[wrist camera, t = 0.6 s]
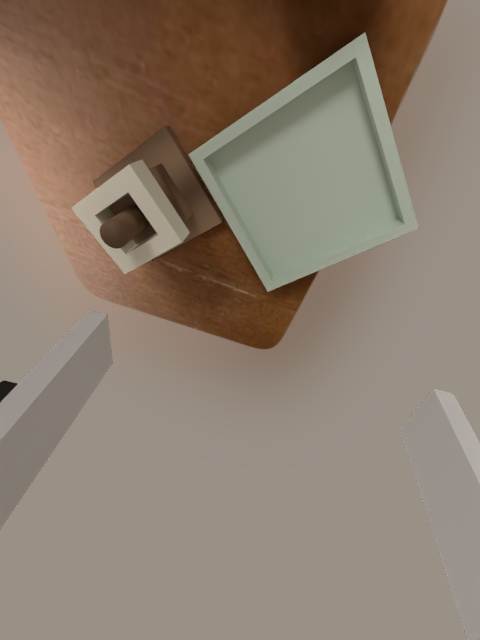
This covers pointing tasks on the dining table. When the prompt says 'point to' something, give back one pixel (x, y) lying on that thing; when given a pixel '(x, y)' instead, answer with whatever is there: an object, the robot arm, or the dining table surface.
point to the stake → (176, 184)
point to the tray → (311, 171)
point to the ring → (149, 201)
